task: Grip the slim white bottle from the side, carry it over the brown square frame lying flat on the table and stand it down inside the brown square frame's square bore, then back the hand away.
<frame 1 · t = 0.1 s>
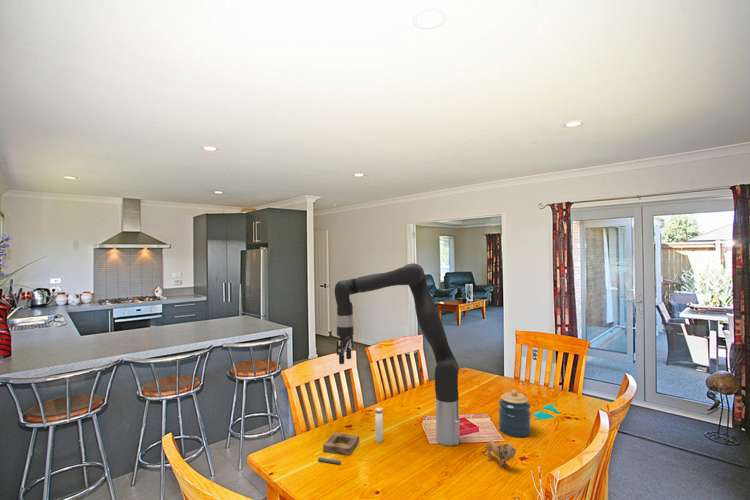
hand: (345, 361, 171), 29 cm above the table, tool pointing down, fingers open, 8 cm apart
slim white bottle: (379, 440, 158), on the table
brown square frame: (341, 446, 153), on the table
canister: (514, 431, 166), on the table
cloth: (548, 414, 185), on the table
lion figurine: (499, 463, 140), on the table
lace: (329, 462, 141), on the table
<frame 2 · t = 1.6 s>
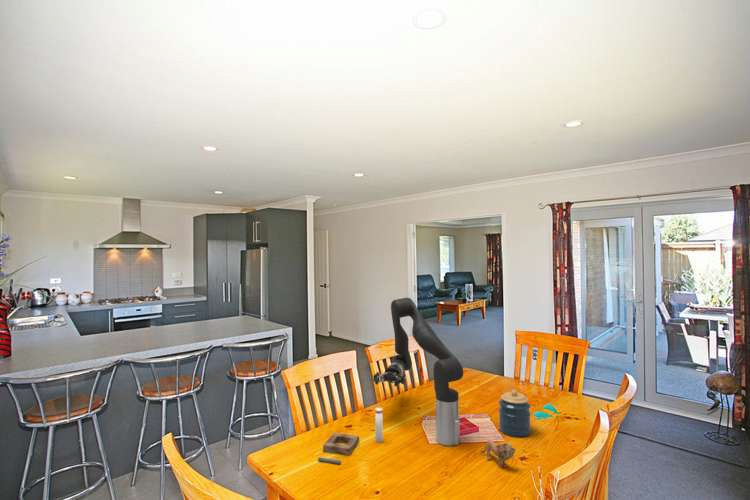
hand: (385, 383, 168), 20 cm above the table, tool horizontal, fingers open, 8 cm apart
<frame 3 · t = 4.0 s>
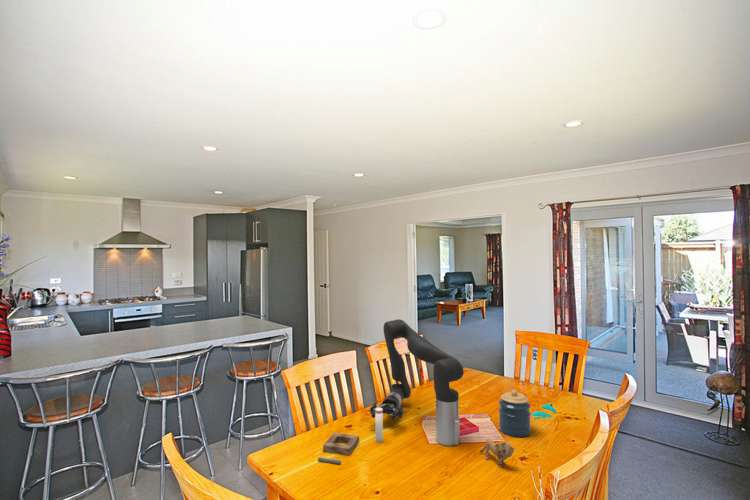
hand: (382, 416, 163), 8 cm above the table, tool horizontal, fingers open, 8 cm apart
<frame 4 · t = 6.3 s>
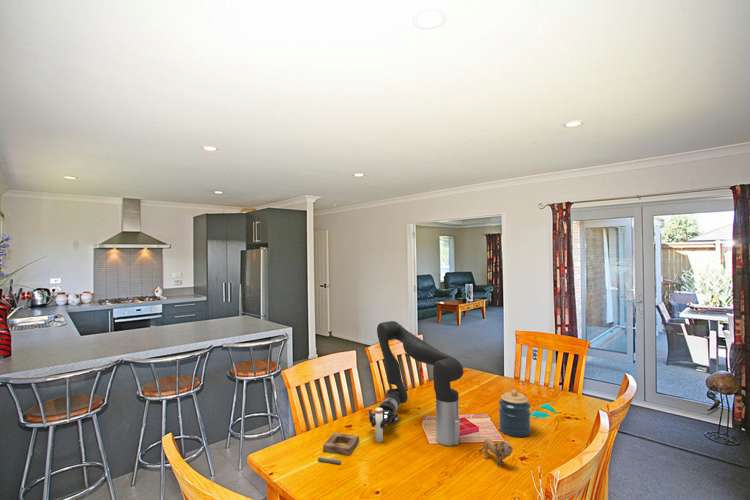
hand: (377, 425, 155), 8 cm above the table, tool horizontal, fingers closed on slim white bottle, 3 cm apart
slim white bottle: (379, 440, 158), on the table, touching gripper
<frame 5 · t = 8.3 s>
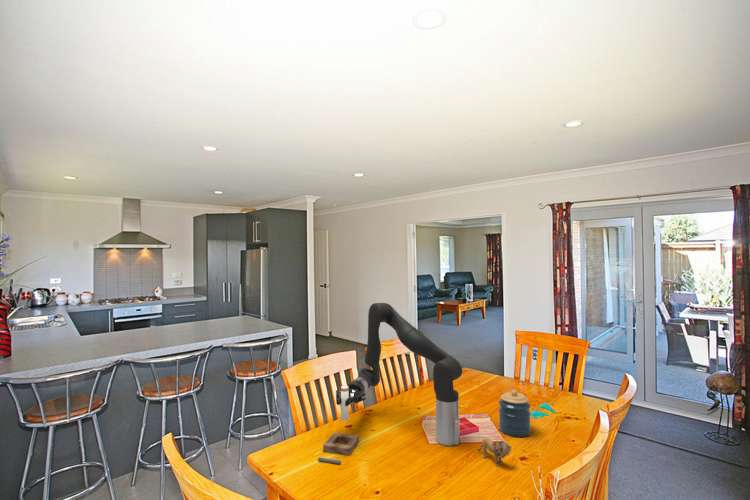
hand: (342, 403, 151), 18 cm above the table, tool horizontal, fingers closed on slim white bottle, 3 cm apart
slim white bottle: (344, 419, 154), point 10 cm above the table, touching gripper
when the fingers open (9 cm above the table, at t = 10.5 s): slim white bottle drops 1 cm, resting in brown square frame.
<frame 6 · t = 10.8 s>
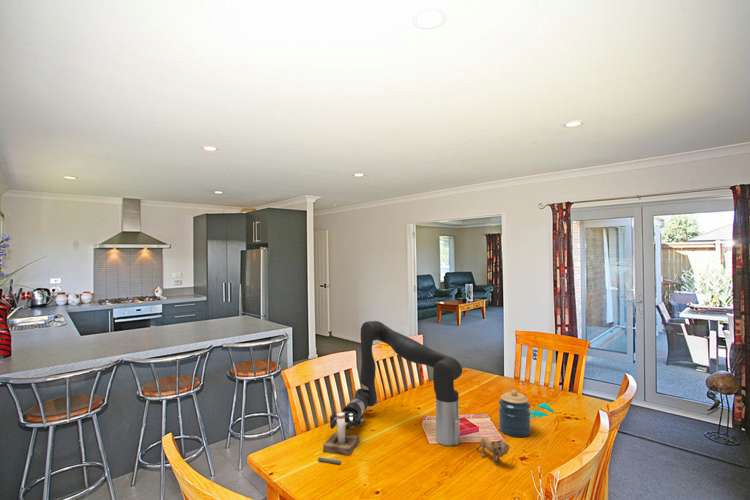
hand: (339, 427, 150), 9 cm above the table, tool horizontal, fingers open, 5 cm apart
slim white bottle: (341, 446, 153), resting in brown square frame
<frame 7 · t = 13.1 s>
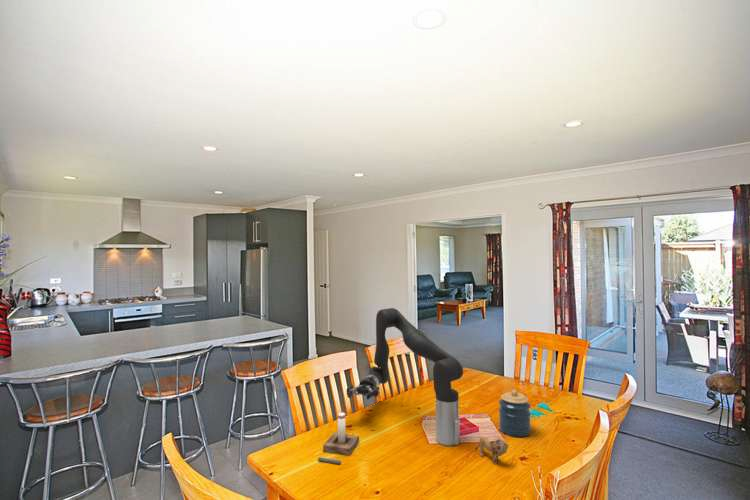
hand: (358, 396, 164), 16 cm above the table, tool horizontal, fingers open, 8 cm apart
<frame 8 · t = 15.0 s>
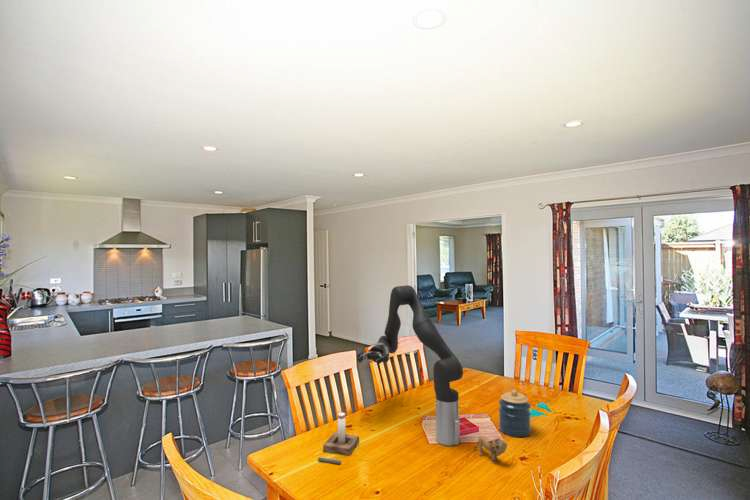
hand: (368, 361, 168), 30 cm above the table, tool horizontal, fingers open, 8 cm apart
at the end: slim white bottle 0.1 cm off-centre on the brown square frame, point 0.0 cm above the brown square frame's base; slim white bottle tilted 0°; the gripper is holding nothing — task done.
